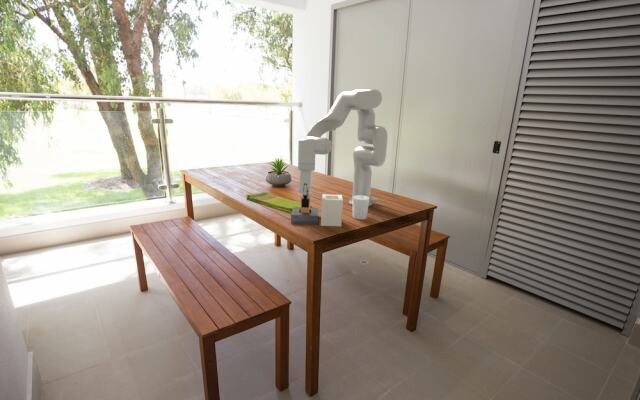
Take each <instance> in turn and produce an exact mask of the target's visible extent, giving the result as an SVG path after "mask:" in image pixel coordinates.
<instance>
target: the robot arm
mask: <svg viewBox="0 0 640 400" xmlns="http://www.w3.org/2000/svg"><path fill="white" fill-rule="evenodd" d="M382 99H383V95H382V92H381V91H380V90H378V89H377V88H357V89H353V90H347V91H346V90H345V91H342V92H340V93H339V94H338V96H337V98H336V99H335V100H334V102H333V105H332V106H331V108H329V111H328V113H326V115H325V116H324V117H322V118H320V120H318V121H316V123H314V124H313V125H312V126H311V128H309V130H308V132H307V133H306V135H305V137H301V138H299V139H298V145H297V146H298V147H297V148H298V151H297V153H298V155H297V170H298V171H299V172H300V173H299V186H298V187H299V189H298V192H299V193H300V194H301V195H302V207H306V208H308V207H309V199H308V196H309V195H310V193H311V188H312V180H313V179H312V178H313V177H312V176H313V172H314V171H315V170H316V155H328V154H329V153H330V152H332V149H333V143H332V141H331V139H329V138H327V137H323V136H324V134H326V133H328V132H331V131H333V130H336V129H338V128H340V127H342V126H343V124H344V123H345V121H346V119H347V118H348V116H349V114H350V113H351V111H356V112H357V119H358V120H357V133H356V134H357V135H356V136H357V141H358V142H359V143H362V144H365V145H359V146H356V147H355V148H354V149H353V152H352V157H353V158H352V159H353V180H352V181H353V182H352V196H351V199H349V201H348V203H349V204H350V205H351V206H352V203H353V196H356V195H362V196H367V197H369V205H368V207H370V206H372V205H373V202H376V203H377V202H379V197H377V198H376V197H375V196H374V197H373V196H371V187H372V176H373V175H372V174H373V172H372V167H382V166H383V165H384V163H385V161H386V158H387V157H386V156H387V147H388V132H387V129H386V127H384V126H383V125H376V121H375V120H376V113H375V110H374V109H375V108H378V107H380V105H381V103H382V101H383V100H382ZM367 144H368V145H367ZM369 145H373V146H369Z"/></svg>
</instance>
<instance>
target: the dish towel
mask: <svg viewBox="0 0 640 400" xmlns="http://www.w3.org/2000/svg"><path fill="white" fill-rule="evenodd" d="M246 200H247V201H249V202H254V203H256V204H259V205H262V206H266V207H269V208H273V209H275V210H278V211H281V212H285V213H288V214H291V213H292V210H293V207H301V201H300V202H299V201H296V200H295V201H294V200H291V199H287V198H284V197H280V196H277V195H275V194H271V193H269V192H267V191H263V192H257V193H249V194H246ZM310 207H312V208H313V206H312V205H310Z"/></svg>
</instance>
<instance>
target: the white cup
mask: <svg viewBox="0 0 640 400" xmlns="http://www.w3.org/2000/svg"><path fill="white" fill-rule="evenodd" d="M368 205H369V197H367V196H362V195H356V196H353V203H352V205H351V206H352V209H351V211H352V218H353V219H356V220H366V219H367V216H368V211H369V206H368Z"/></svg>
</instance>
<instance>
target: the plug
mask: <svg viewBox="0 0 640 400" xmlns="http://www.w3.org/2000/svg"><path fill="white" fill-rule="evenodd" d="M308 199H309V207H308V208H306V207H302V194H301V196H300V203H301V213H310V206H311V194H309V196H308Z"/></svg>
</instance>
